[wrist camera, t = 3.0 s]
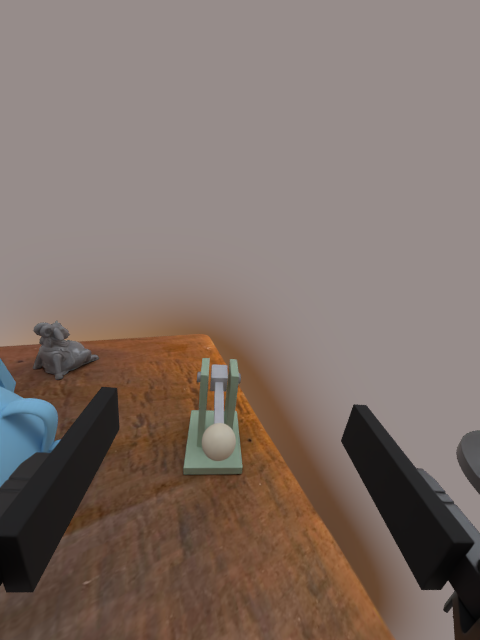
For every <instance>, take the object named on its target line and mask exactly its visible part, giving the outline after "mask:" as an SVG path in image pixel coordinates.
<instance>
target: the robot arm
mask: <svg viewBox="0 0 480 640" xmlns="http://www.w3.org/2000/svg"><path fill="white" fill-rule="evenodd" d="M118 431H119V413H118V395H117V388H110V387H101V389H100V390H99V391H98V393H97V394H96V395H95V396H94V398H93V399H92V400H91V402H90V403H89V404H88V405H87V407H86V408H85V409H84V411H83V412H82V413H81V414H80V416H79V417H78V418H77V420H76V421H75V422H74V423H73V425H72V426H71V427H70V429H69V430H68V431H67V432H66V434H65V435H64V436H63V438H62V439H61V440H60V441H59V443H58V444H57V445H56V447H55V448H54V449H53V450H52V452H51V453H44V452H36V453H35V454H33V455H32V456H31V457H29V458H28V459H26V460H25V461H24V462H22V463H21V464H20V465H19V466H18V467H17V469H16V470H15V471H14V472H13V473H12V474H11V475H10V477H9V479H8V480H6V481H5V482H4V484H3V485H2V486H1V487H0V586H1V584H2V582H3V584H4V587H5V590H6V592H33V591H34V589H35V587H36V586H37V584H38V582H39V580H40V578H41V576H42V574H43V572H44V570H45V569H46V567H47V565H48V563H49V561H50V559H51V557H52V555H53V553H54V552H55V550H56V548H57V546H58V544H59V542H60V540H61V538H62V536H63V535H64V533H65V531H66V529H67V527H68V525H69V523H70V521H71V519H72V518H73V516H74V514H75V512H76V510H77V508H78V506H79V504H80V502H81V501H82V499H83V497H84V495H85V493H86V491H87V489H88V487H89V485H90V484H91V482H92V480H93V478H94V476H95V474H96V472H97V470H98V468H99V467H100V465H101V463H102V461H103V459H104V457H105V455H106V453H107V451H108V450H109V448H110V446H111V444H112V442H113V440H114V438H115V436H116V434H117V432H118ZM341 442H342V444H343V446H344V447H345V449H346V451H347V453H348V455H349V457H350V458H351V460H352V462H353V464H354V466H355V468H356V470H357V471H358V473H359V475H360V477H361V479H362V481H363V483H364V484H365V486H366V488H367V490H368V492H369V494H370V495H371V497H372V499H373V501H374V503H375V505H376V507H377V508H378V510H379V512H380V514H381V516H382V518H383V519H384V521H385V523H386V525H387V527H388V529H389V530H390V532H391V534H392V536H393V538H394V540H395V542H396V544H397V545H398V547H399V549H400V551H401V553H402V555H403V556H404V558H405V560H406V562H407V564H408V566H409V567H410V569H411V571H412V573H413V575H414V577H415V579H416V580H417V582H418V584H419V586H420V588H421V590H441V589H442V588H443V586H444V585H445V584H446V582H447V581H449V582H450V584H451V585H452V587H453V588H454V590H455V591H454V593H453V594H452V595H451V597H450V598H449V599H448V601H447V602H446V603H445V605H444V609H443V610H444V611H445V612H446V613H448V611H449V610H450V609H451V607H452V606H453V619H454V634H455V640H480V533H479V532H478V530H477V529H476V528H475V527H474V526H473V524H472V523H471V522H470V521H469V520H468V519H467V517H466V516H465V515H464V514H463V513H462V511H461V510H460V509H459V508H458V506H457V505H455V504H454V502H453V501H452V499H451V498H450V497H449V496H448V495H447V494H446V493H445V491H444V490H443V489H442V487H441V486H440V485H439V484H438V482H437V481H436V480H435V479H434V478H433V477H431V476H430V475H429V474H428V473H427V472H426V471H424V470H423V469H418V468H416V467H415V466H414V465H413V464H412V462H411V461H410V460H409V459H408V458H407V456H406V455H405V454H404V452H403V451H402V450H401V449H400V447H399V446H398V445H397V444H396V442H395V441H394V440H393V438H392V437H391V436H390V435H389V433H388V432H387V431H386V430H385V429H384V427H383V426H382V425H381V423H380V422H379V421H378V420H377V418H376V417H375V416H374V414H373V413H372V412H371V411H370V409H369V408H368V407H367V406H366V405H353V408H352V411H351V414H350V417H349V420H348V423H347V425H346V428H345V431H344V434H343V437H342V440H341Z"/></svg>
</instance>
